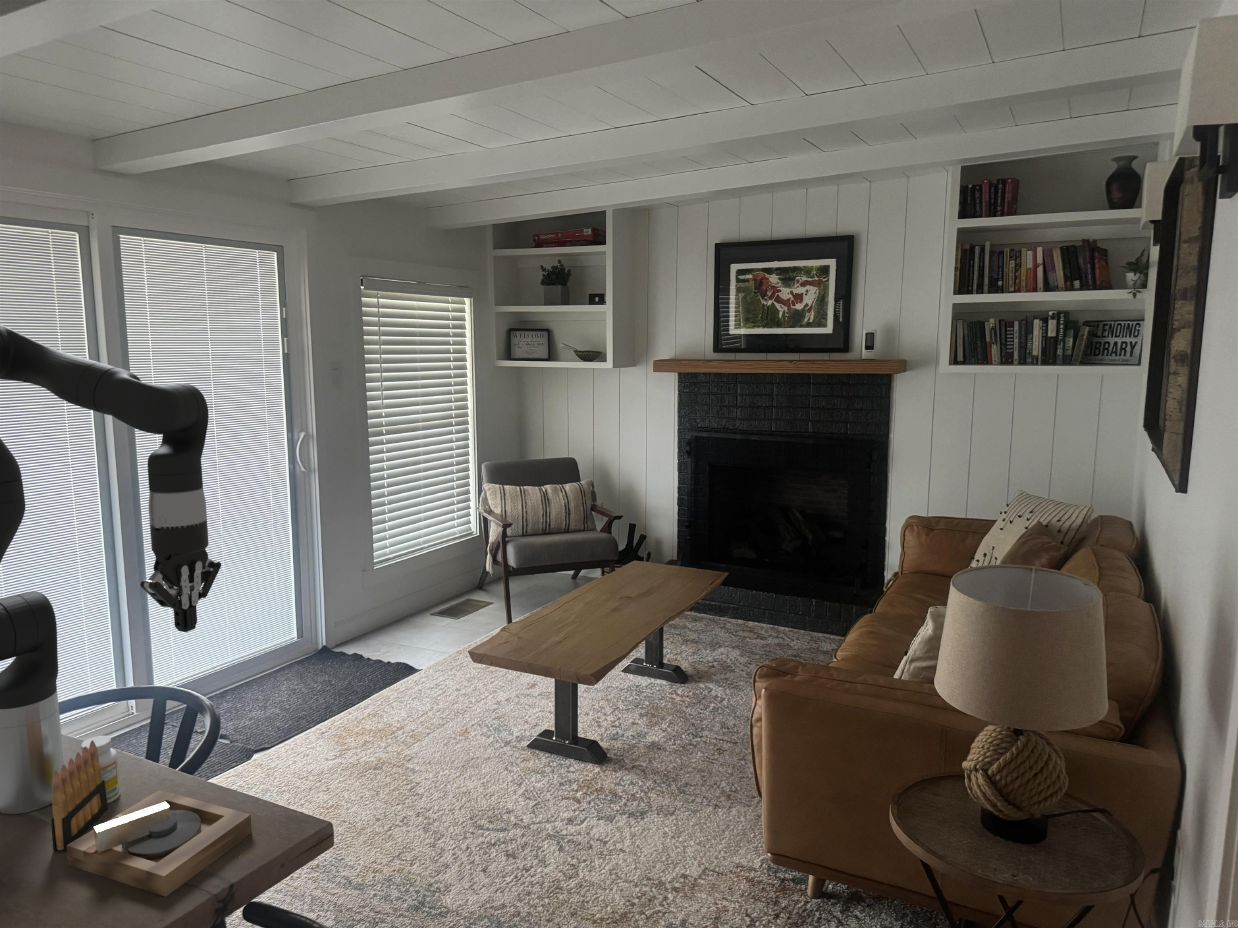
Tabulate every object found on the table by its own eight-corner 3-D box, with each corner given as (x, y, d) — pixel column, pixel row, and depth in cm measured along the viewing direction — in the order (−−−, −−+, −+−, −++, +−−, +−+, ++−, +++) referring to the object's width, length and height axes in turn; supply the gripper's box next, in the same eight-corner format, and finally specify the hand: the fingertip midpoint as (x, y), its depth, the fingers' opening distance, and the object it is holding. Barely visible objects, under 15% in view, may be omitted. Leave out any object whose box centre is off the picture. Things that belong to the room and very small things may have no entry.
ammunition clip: (66, 851, 117) (58, 774, 115) (52, 852, 116) (44, 774, 115) (108, 808, 127) (101, 737, 125) (96, 809, 127) (89, 737, 125)
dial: (188, 809, 124) (186, 780, 124) (210, 838, 117) (208, 808, 117) (89, 844, 116) (86, 813, 115) (106, 879, 108) (103, 846, 108)
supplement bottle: (86, 791, 132) (81, 735, 130) (124, 786, 133) (119, 731, 132) (76, 810, 127) (70, 752, 125) (115, 804, 128) (110, 747, 127)
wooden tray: (66, 865, 114) (64, 844, 113) (161, 807, 128) (159, 788, 127) (164, 897, 108) (162, 875, 107) (251, 832, 122) (250, 812, 121)
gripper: (195, 508, 128) (202, 613, 131) (119, 525, 116) (129, 641, 119) (233, 512, 126) (239, 619, 129) (159, 530, 114) (167, 649, 116)
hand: (186, 629), depth 124 cm, fingers closed
